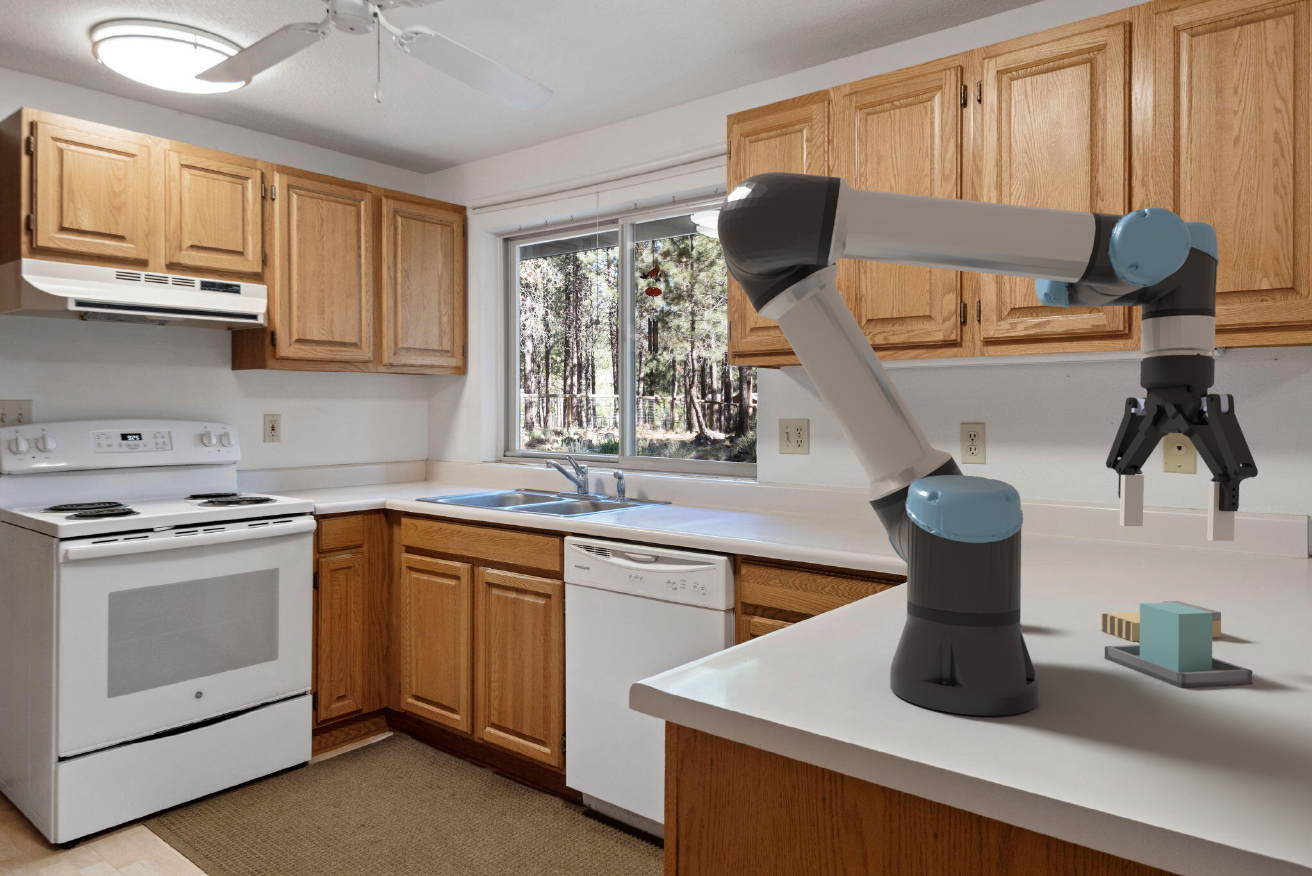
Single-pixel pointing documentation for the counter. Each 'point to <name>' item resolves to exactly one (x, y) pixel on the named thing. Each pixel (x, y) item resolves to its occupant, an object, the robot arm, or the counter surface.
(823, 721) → the counter surface
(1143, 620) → the block
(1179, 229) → the robot arm
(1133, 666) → the tray
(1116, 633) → the tan notched slab
